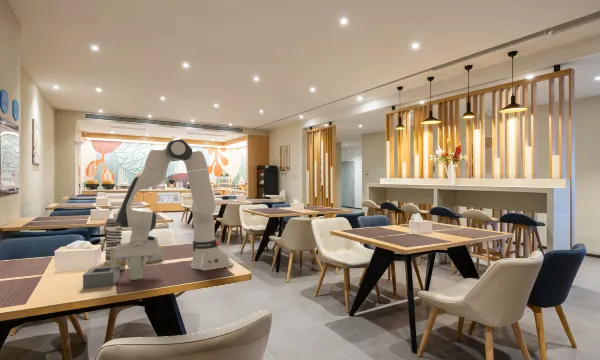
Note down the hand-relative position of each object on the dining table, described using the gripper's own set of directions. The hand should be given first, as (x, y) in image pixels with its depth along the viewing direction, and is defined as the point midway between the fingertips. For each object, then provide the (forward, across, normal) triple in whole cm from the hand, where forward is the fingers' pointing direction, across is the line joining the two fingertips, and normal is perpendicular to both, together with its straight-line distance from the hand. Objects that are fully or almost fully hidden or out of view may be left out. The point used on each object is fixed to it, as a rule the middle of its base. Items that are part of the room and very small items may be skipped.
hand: (136, 266), depth 156 cm
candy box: (-18, +1, +27) cm, 32 cm away
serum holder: (+5, -14, +3) cm, 15 cm away
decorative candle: (-26, -19, +35) cm, 48 cm away
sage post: (+4, 0, +5) cm, 6 cm away
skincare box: (-10, -12, +19) cm, 25 cm away
